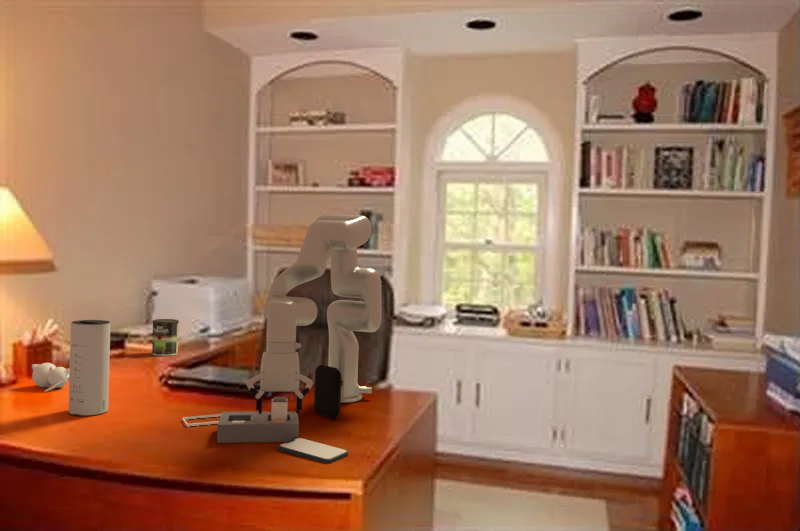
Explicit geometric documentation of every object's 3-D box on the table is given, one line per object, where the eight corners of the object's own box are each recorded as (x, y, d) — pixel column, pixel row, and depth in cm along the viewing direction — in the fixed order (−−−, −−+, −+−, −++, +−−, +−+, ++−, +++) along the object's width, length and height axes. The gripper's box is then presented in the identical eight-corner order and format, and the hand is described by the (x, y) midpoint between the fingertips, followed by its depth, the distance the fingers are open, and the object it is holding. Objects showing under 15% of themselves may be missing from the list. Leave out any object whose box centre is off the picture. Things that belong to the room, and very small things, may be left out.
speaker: (117, 410, 195) (118, 320, 194) (86, 418, 186) (88, 323, 185) (90, 405, 200) (92, 316, 199) (59, 413, 190) (61, 320, 189)
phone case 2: (350, 457, 165) (299, 443, 173) (350, 450, 164) (299, 436, 173) (327, 467, 157) (275, 451, 165) (328, 460, 157) (275, 445, 165)
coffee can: (170, 357, 278) (171, 322, 277) (147, 355, 279) (147, 321, 279) (182, 352, 288) (183, 319, 287) (159, 351, 289) (160, 318, 289)
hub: (297, 427, 185) (297, 410, 184) (298, 441, 173) (298, 422, 173) (221, 428, 181) (221, 410, 181) (217, 442, 169) (217, 423, 169)
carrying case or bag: (344, 419, 194) (346, 368, 194) (337, 421, 192) (339, 370, 191) (318, 412, 201) (320, 363, 200) (311, 414, 199) (312, 364, 198)
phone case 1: (236, 417, 195) (181, 422, 188) (236, 412, 195) (182, 417, 188) (242, 423, 188) (186, 429, 181) (242, 419, 188) (187, 424, 181)
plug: (286, 428, 180) (287, 396, 180) (286, 433, 176) (287, 400, 176) (270, 428, 180) (271, 396, 179) (270, 433, 176) (271, 400, 175)
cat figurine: (69, 359, 218) (38, 355, 221) (47, 382, 210) (15, 377, 213) (79, 379, 223) (49, 374, 226) (57, 402, 215) (26, 397, 218)
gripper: (313, 345, 182) (311, 408, 183) (247, 344, 179) (245, 409, 180) (315, 350, 175) (313, 416, 175) (246, 349, 172) (244, 417, 172)
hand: (279, 412), depth 178 cm, fingers open, 9 cm apart
